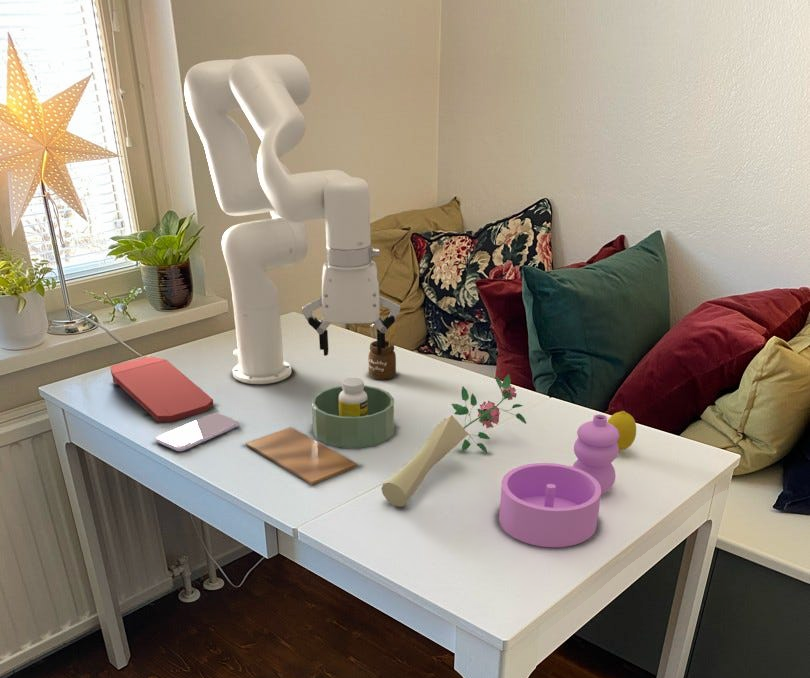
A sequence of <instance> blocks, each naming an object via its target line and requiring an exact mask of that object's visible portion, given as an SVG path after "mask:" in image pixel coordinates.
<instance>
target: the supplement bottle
mask: <svg viewBox="0 0 810 678" xmlns="http://www.w3.org/2000/svg"><path fill="white" fill-rule="evenodd" d="M364 383H365V382H364V380H363V379H361V378H358V377H348V378H347V377H346V378H345V379H343V380H342V382H341V386H342V389H343V391H341V392H340V394H339V416H343V417H359V416H366V415H368V399H367V394H366V392H365V391H363V389H364V385H365V384H364Z"/></svg>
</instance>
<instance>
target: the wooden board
mask: <svg viewBox="0 0 810 678" xmlns="http://www.w3.org/2000/svg"><path fill="white" fill-rule="evenodd" d="M245 445H246V447H248V448H250V449H251V450H253V451H254V452H256V453H258V454H259V455H261V456H263V457H265V458H266V459H268V460H270V462H273V463H274V464H276V465H278V466H279V467H281V468H283V469H285V470H286V471H288V472H289V473H291V474H293V475H295V476H297V477H298V478H299V479H301V480H302V481H304V482H306V483H308V484H310V485H311V486H313V485H315V484H317V483H321V482H323V481H325V480H328V479H330V478H333V477H335V476H338V475H340V474H343V473H345V472H348V471H350V470H352V469H355V468H358V463H356V462H355V461H353V460H351V459H349V458H348V457H346V456H345V455H342V454H340V453H338V452H337V451H335V450H333V449H331V448H329V447H327V446H326V445H323V443H320V442H318V441H316V440H314V439H312V438H311V437H309V436H308V435H305V434H304V433H302V432H300V431H298V430H296V429H294V428H292V427H287V428H284V429H281V430H278V431H276V432H273V433H270V434H267V435H265V436H264V435H263V436H262V437H259V438H256V439H253V440H249V441H248V442H245Z"/></svg>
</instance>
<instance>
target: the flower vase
mask: <svg viewBox="0 0 810 678" xmlns="http://www.w3.org/2000/svg"><path fill="white" fill-rule="evenodd" d="M494 380H495V381H496V384H497V385H498V388H499V390H500V393H501V397H502V398H501V400H500V401H499V402H498V403H497V404H496V403H495V402H494V401H493V402H492V401H490V400H487V401H483V402H482V404H479V408H477V409H476V410H477V412H478V413H477V418H475V419H473V420H472V421H471V417H469V423H468V424H465V425H464V426H462V425H461V424H460V422H459V421H458V420H457V418H455V417H454V416H453V415H457V416H463V415H465V418H464V421H466V419H467V416H471V413H472V411H469V408H468V406H467V401H468V400H469V399H470V405H471V406H472V408H471V409H473V407H475V406H477V405H478V401H477V397H476V396H475V395H474V393H473V392H472V393H471V395H469V393H468V390H467V389H466V387H465V386H462V387H461V391H460V393H461V400H462V401H464V403H465V405H464V406H463V405H461V404H458V403H451V406H452V409H454V411H455V412H453V415H452V414H451V415H449V416H448V417H447V418H444V419H443V420H442V421H441V422H439V423H438V424H437V425H436V426H435V428H434V429H433V431H432V432H431V433H430V435H429V437H428V438H427V439H426V441H425V442H424V444H423V445H422V447H421V448H420V450H419V451H418V452H417V453H416V454H415V455H414V456H413V457H412V458H411V459H410V460H408V462H407V463H406V464H405V465H404V466H403V467H401V468H400V469H399V470H398V471H396V472H395V473H394V474H393V475H392V476H391V477H390V478H388V479H387V480H386V481H385V482H384V483H383V484H382V485H381V493H382V495H383V497H384V498H385V500H386V501H387V502H389V504H391V505H392V506H395V507H399V508H400V507H404V506H406V505H407V503H408V502H409V501H410V499H411V498H412V496H413V495H414V493H415V492H416V490H417V489H418V488H419V487H420V485H421V484H422V482H423V481H424V479H425V478H426V477H427V475H428V474H429V473H430V471H431V470H432V469H433V467H435V466H436V464H438V463H439V462H440V461H441V460H442V459H443V458H445V457H446V455H448V454H449V452H451V451H452V450H453V449H454V448H455V447H457V445H458V444H460V443H461V442H462V441H463V442H462V444H461V452H462V453H463V452H465V451H467V450H468V449H469V448H470V447H471V442H470V441H469V440H470V439H472V441H473V442H475V440H474V439H473V438H472V434H469V433H468V431H467V430H466V428H467V427H469V426H470V425H472V424H473V423H475V422H477V421H478V422H479V423H480V424H481V425H482V427H485V426H486V427H485V428H486V429H490V428H494V425H493V424H495V425H498V424H499V422H500V414H501V411H503V412H506V413H508V414H511V415H513V416H515V417H516V419H518V420H519V421H521V422H522V423H523V424H525V425H527V421H526V419H525V417H524V416H523V414H521V413H519V412H518V413H516V414H514V413H512V412H509V411H510V409H506V410H504V409H502V408H500V407H499V405H500V404H502V403H503V401H505V400H506V399H507V401H510V400H513V398H514V399H515V398H517V395H518V394H517V390H516V388H515V386H513V387H512V385H511V376H510V374H507V375H506V376H505V377H504V378H503V380H501V379H500V378H499V377H496V376H494ZM521 407H524V405H523V404H521V403H515V404H513V405H512V407H511V409H516V408H521ZM500 410H501V411H500ZM467 436H469V438H468V439H466V437H467ZM474 436H475V437H478V438H479V439H483V440H490V439H491V437H490V436H489V435H488V434H487V433H485V432H483V431H479V432H478V434H477V435H475V434H474ZM476 446H477V447H478V448H479V449H480V450H481V451H483V452H484V453H485V454H488V449H487V447H486V446H485V444H484V443H482V442H478V443H476Z"/></svg>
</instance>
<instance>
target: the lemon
mask: <svg viewBox="0 0 810 678" xmlns="http://www.w3.org/2000/svg"><path fill="white" fill-rule="evenodd" d="M607 422H608V423H610V424H612V425H613V426H614V427H616V428H617V429H618V432H619V439H618V440H617V444H618V447H619V452H621V451H624V450H627V449H628V448H630V447H631V446H632V445H633V443H634V442H635V440H636V436H637V424H636V420H635V418H634V417H633V416H632V415H631V414H630V413H628V412H626V411H625V410H621V411H618V412H615V413H613V414H612V415H611V416H610V417H609V418H607Z"/></svg>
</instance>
